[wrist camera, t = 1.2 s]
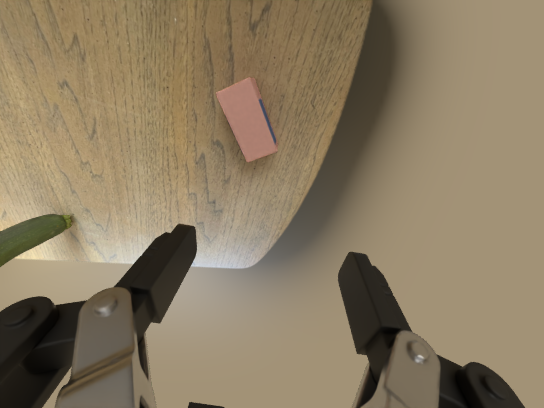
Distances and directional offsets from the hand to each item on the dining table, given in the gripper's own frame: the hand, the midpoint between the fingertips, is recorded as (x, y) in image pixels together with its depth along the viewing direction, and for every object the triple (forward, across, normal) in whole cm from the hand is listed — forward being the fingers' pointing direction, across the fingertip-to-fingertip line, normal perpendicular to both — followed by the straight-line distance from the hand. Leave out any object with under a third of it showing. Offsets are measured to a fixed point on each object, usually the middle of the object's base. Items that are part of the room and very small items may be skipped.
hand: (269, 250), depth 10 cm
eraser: (+16, +4, -4) cm, 16 cm away
